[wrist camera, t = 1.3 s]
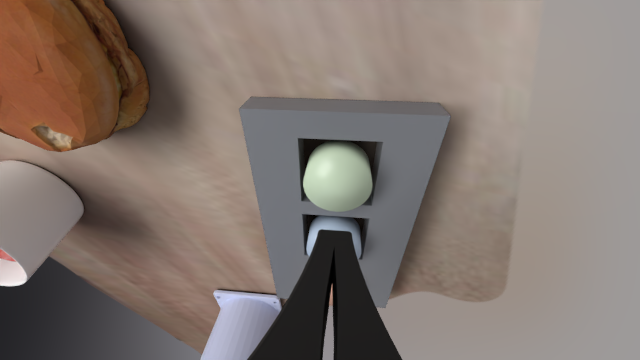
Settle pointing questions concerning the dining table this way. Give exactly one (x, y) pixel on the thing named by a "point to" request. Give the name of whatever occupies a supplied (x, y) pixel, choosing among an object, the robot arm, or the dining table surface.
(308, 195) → the green button
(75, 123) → the burger
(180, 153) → the dining table surface
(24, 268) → the candle
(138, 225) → the dining table surface
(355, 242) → the blue button
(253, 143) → the button panel
